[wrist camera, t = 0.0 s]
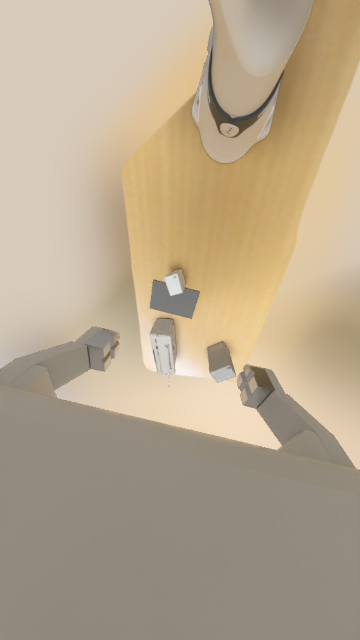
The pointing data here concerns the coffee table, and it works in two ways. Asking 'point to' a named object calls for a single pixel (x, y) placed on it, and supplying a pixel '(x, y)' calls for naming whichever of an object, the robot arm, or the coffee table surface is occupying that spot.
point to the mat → (173, 300)
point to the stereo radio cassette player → (164, 346)
